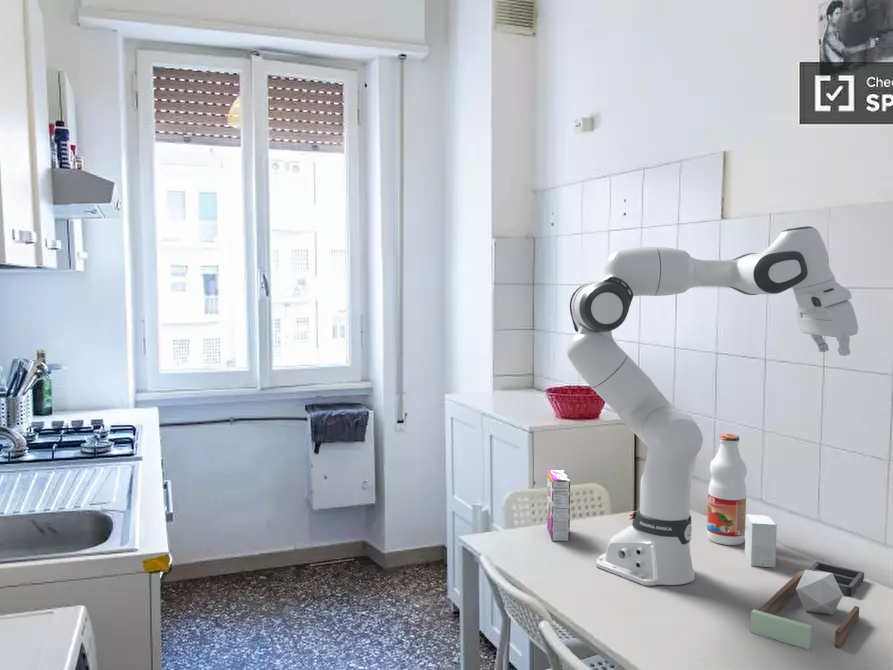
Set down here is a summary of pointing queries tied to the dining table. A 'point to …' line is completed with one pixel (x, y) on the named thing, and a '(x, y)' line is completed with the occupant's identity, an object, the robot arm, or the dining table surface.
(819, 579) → the die
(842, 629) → the lane walls
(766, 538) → the small box
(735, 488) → the fruit juice
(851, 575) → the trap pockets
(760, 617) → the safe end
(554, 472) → the candy bar box
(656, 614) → the dining table surface
